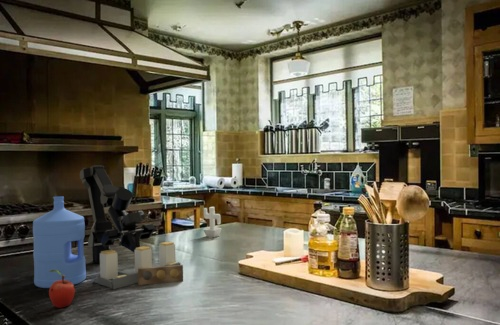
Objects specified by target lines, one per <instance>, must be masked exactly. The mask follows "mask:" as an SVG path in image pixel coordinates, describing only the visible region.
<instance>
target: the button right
mask: <svg viewBox="0 0 500 325" xmlns="http://www.w3.org/2000/svg"><path fill="white" fill-rule="evenodd" d="M158 258H159V260H158V261H159V262H158V263H159V266H165V265H168V264H170V263H174V262H176V261H177V260H176V243H175V242H174V241H173V242H171V241H165V242H160V243H159V244H158ZM176 263H177V262H176Z"/></svg>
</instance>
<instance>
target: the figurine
mask: <svg viewBox="0 0 500 325" xmlns="http://www.w3.org/2000/svg"><path fill="white" fill-rule="evenodd" d="M208 209H209V211H208ZM215 210H216V209H215V206H210V207H209V208H208V207H204V208H203V218H204V219H206V220H209V227H208V228H207V227H206V228H205V229H202V231H203V233H204V234H205V236H206V238H207V237H208V238H216V237H219V235H220V234H221V231H222V229H223V228H221V227H216V224H217V225H221V223H222V222H221V221H222V217H221V214H220V213H216V211H215Z"/></svg>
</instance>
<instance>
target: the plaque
mask: <svg viewBox="0 0 500 325" xmlns="http://www.w3.org/2000/svg"><path fill="white" fill-rule="evenodd" d="M175 282H176V283H177V282H184V264H180V265H173V266H160V267H147V268H138V283H137V284H138V286H143V285H152V284H153V285H154V284H165V283H175Z"/></svg>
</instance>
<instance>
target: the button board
mask: <svg viewBox="0 0 500 325" xmlns="http://www.w3.org/2000/svg"><path fill="white" fill-rule="evenodd" d="M173 265H181V262H178V261H177V262H174V263H170V264H168V265H165V266H173ZM152 267H160V266H159V262H156V263H152ZM93 283H95V284H98V285H102V286H104V287H107V288H110V289H113V290H116V289H119V288H123V287H128V286H131V285H134V284H138V272H137V273H135V268H131V269H127V270H122V271H119V270H118V276H117V277H116V278H112V279H109V280H108V279H105V278H102V277H100V276H96V277H93Z"/></svg>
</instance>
